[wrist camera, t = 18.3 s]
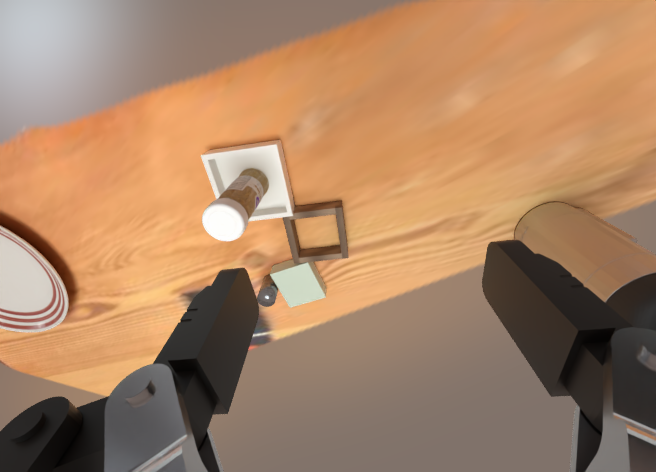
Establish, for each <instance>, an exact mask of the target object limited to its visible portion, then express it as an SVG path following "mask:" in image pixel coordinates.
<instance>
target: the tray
mask: <svg viewBox="0 0 656 472" xmlns="http://www.w3.org/2000/svg"><path fill="white" fill-rule="evenodd" d="M201 158H202V160H203V163H204V166H205V169H206V171H207V174H208V177H209V180H210V182H211V185H212V188H213V191H214V193H215V196H216V199H218V198H219V197H220V196H221V194H222V193H223V192H224V191H225V190H226V189H227V188H228V187H229V186H230V184H231V183H232V182H233V181H234V180H235V179H236V178H238V177H239V175H240V174H241V172H242V171H244V170H246V169H250V168H254V169H257V170H259V171H261V172H262V173H263V174H265V176H266V177H267V179H268V183H269V188H268V191H267V193H266V194H265V195H264V196H263V198H262V200H261V202H260V203H259V205H258V206H257V208H256V210H255V211H254V212H253V213H252V215H251V217H250V219H249V220H248V221H255V220H264V219H272V218H280V217H288V216H293V212H294V209H295V203H294V199H293V194H292V190H291V185H290V181H289V176H288V171H287V167H286V162H285V158H284V153H283V149H282V144H281V140H274V141H267V142H261V143H254V144H247V145H240V146H234V147H227V148H220V149H213V150H209V151H207V152H205V153H204V154H202V155H201Z"/></svg>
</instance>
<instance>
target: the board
mask: <svg viewBox="0 0 656 472" xmlns="http://www.w3.org/2000/svg"><path fill="white" fill-rule="evenodd" d="M270 276H271V277H272V279H273V281H274V282H275V284H276V285H277V287H278V289H279V290H280V292H281V293H282V295H283V297H284V298H285V300H286V302H287V303H288V305H289V306H290V308H291V307H294V306H298V305H301V304H304V303H308V302H311V301H315V300H318V299H322V298H325V297H326V286H325V284H324V282H323V280H322V278H321V276H320V274H319V272H318V270H317V268H316V266H315V264H314V262H304V263H295V264H294V261H293V259H291V260H288V261H285V262H282V263H279V264H276V265H273V266H272V270H271V273H270Z"/></svg>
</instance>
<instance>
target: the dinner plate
mask: <svg viewBox="0 0 656 472" xmlns="http://www.w3.org/2000/svg"><path fill="white" fill-rule="evenodd" d="M68 307H69V300H68V294H67V291H66V288H65V285H64V283H63V281H62V279H61V277H60V276H59V274H58V273H57V271H56V270H55V269H54V267H53V266H52V265H51V264H50V263H49V261H48V260H47V259H46V258H45V257H44V256H43V255H42V254H41V253H40V252H39V251H37V250H36V249H35V248H34V247H33V246H31V245H30V244H29V243H28V242H26V241H25V240H24V239H22V238H21V237H19V236H18V235H16V234H14V233H13V232H11V231H10V230H8V229H6V228H4V227H2V226H0V328H2V329H6V330H11V331H17V332H41V331H46V330H49V329H52V328H54V327H56V326H57V325H59V324H60V323H61V322H62V321H63V320H64V318H65V317H66V315H67V312H68Z"/></svg>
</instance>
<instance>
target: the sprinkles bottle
mask: <svg viewBox="0 0 656 472" xmlns="http://www.w3.org/2000/svg"><path fill="white" fill-rule="evenodd" d="M268 188H269V183H268V179H267V177H266V176H265V174H263V173H262V172H261V171H259V170H257V169H254V168H250V169H246V170H244V171H242V172H241V174H240V175H239V177H238V178H236V179H235V180H234V181H233V182H232V183H231V184H230V186H229V187H228V188H227V189H226V190H225V191H224V192H223V193H222V194H221V196H220V197H219V198H218V199H217V200H215V201H213V202H212V203H211V204H210V205H209V206H208V207H207V208H206V209H205V211H204V213H203V216H202V222H203V226H204V228H205V230H206V231H207V232H208V233H209V234H210V235H211V236H212V237H214V238H216V239H218V240H221V241H233V240H235V239H237V238H239V237H240V236H241V235H242V234H243V232H244V231H245V229H246V227H247V225H248V220H249V219H250V217H251V215H252V213H253V212H254V211H255V210H256V208H257V206H258V205H259V203H260V202H261V200H262V198H263V196H264V195H265V194H266V193H267V191H268Z"/></svg>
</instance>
